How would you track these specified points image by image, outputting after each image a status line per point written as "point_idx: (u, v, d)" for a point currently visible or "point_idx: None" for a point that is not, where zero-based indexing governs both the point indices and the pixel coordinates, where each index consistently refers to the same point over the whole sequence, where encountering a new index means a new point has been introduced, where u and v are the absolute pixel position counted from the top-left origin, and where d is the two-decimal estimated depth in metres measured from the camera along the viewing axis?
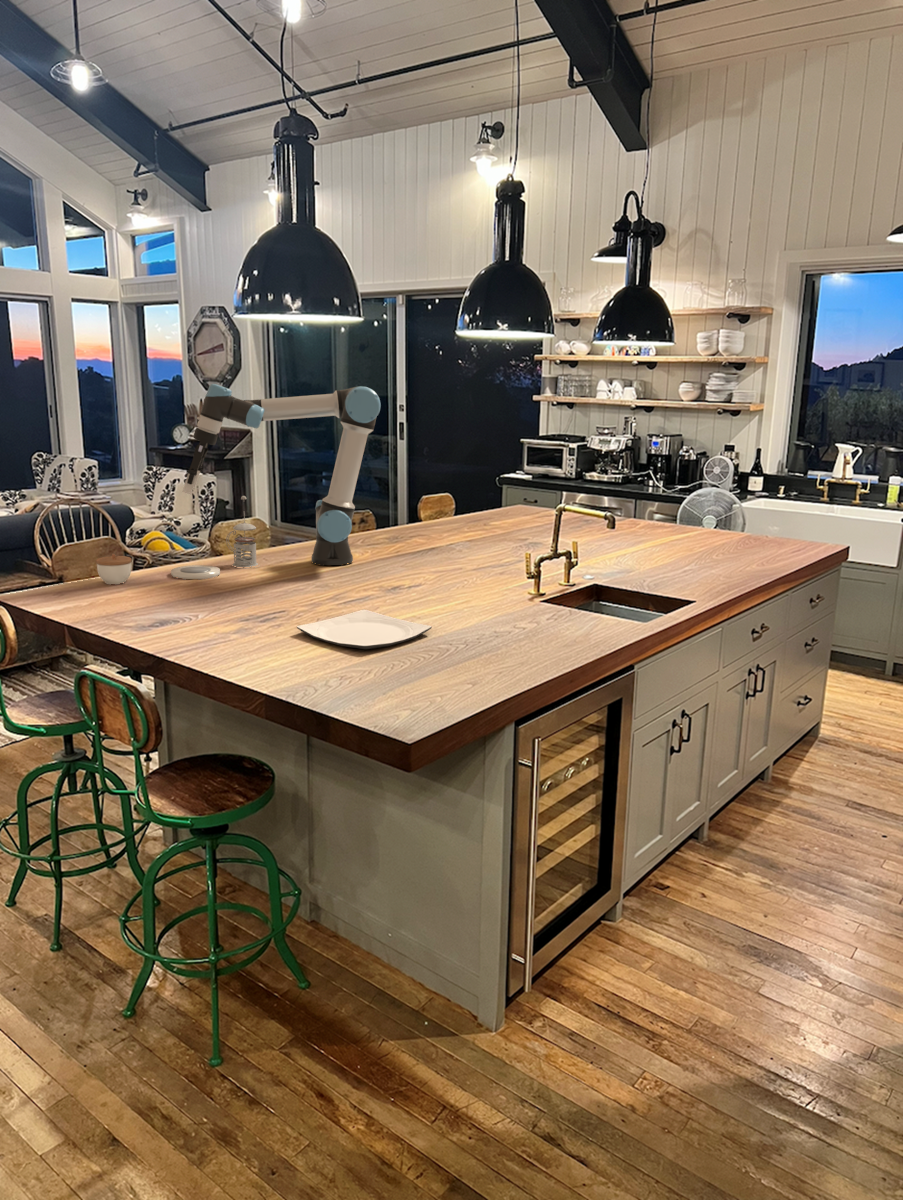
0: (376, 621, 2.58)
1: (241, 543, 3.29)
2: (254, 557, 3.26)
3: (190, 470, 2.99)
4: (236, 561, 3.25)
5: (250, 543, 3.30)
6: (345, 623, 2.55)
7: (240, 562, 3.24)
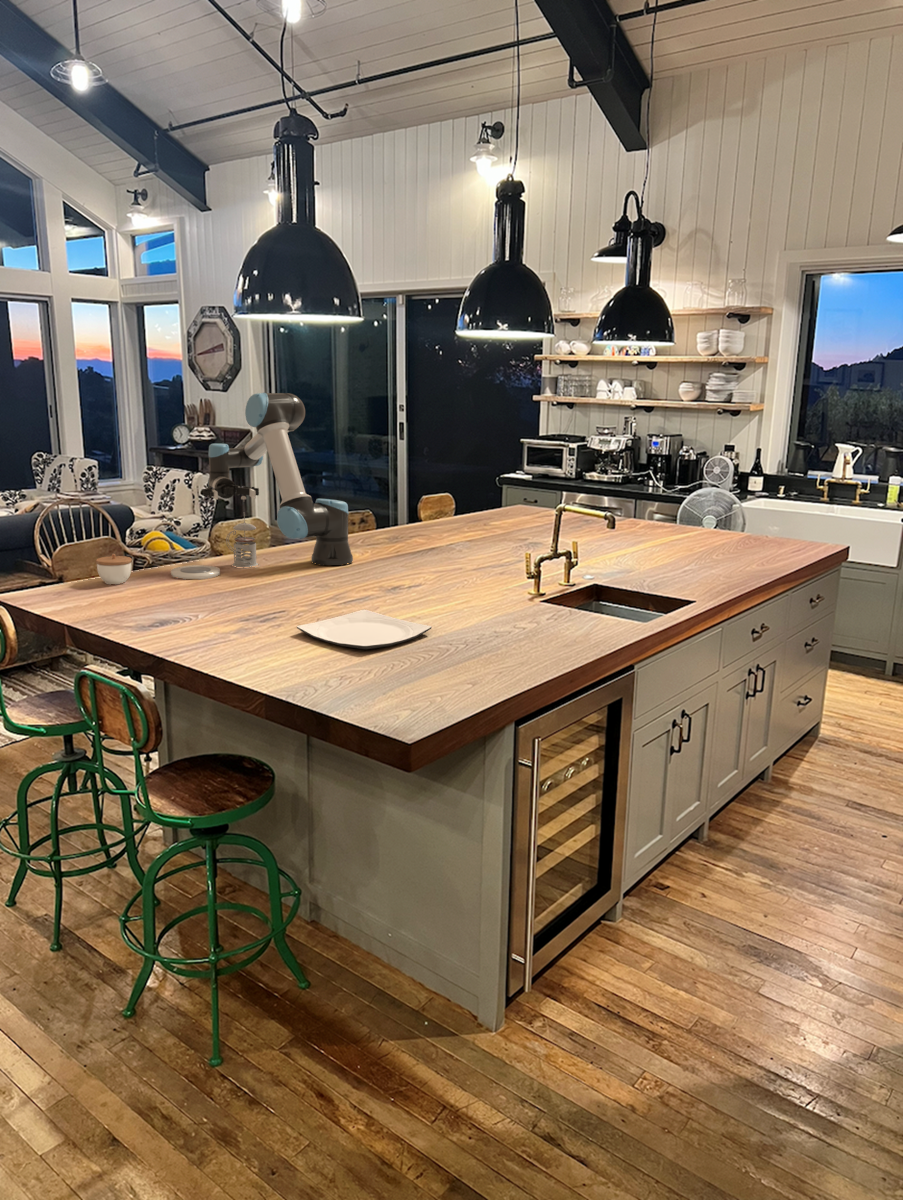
0: (376, 621, 2.58)
1: (241, 543, 3.29)
2: (254, 557, 3.26)
3: (203, 494, 3.34)
4: (236, 561, 3.25)
5: (250, 543, 3.30)
6: (345, 623, 2.55)
7: (240, 562, 3.24)
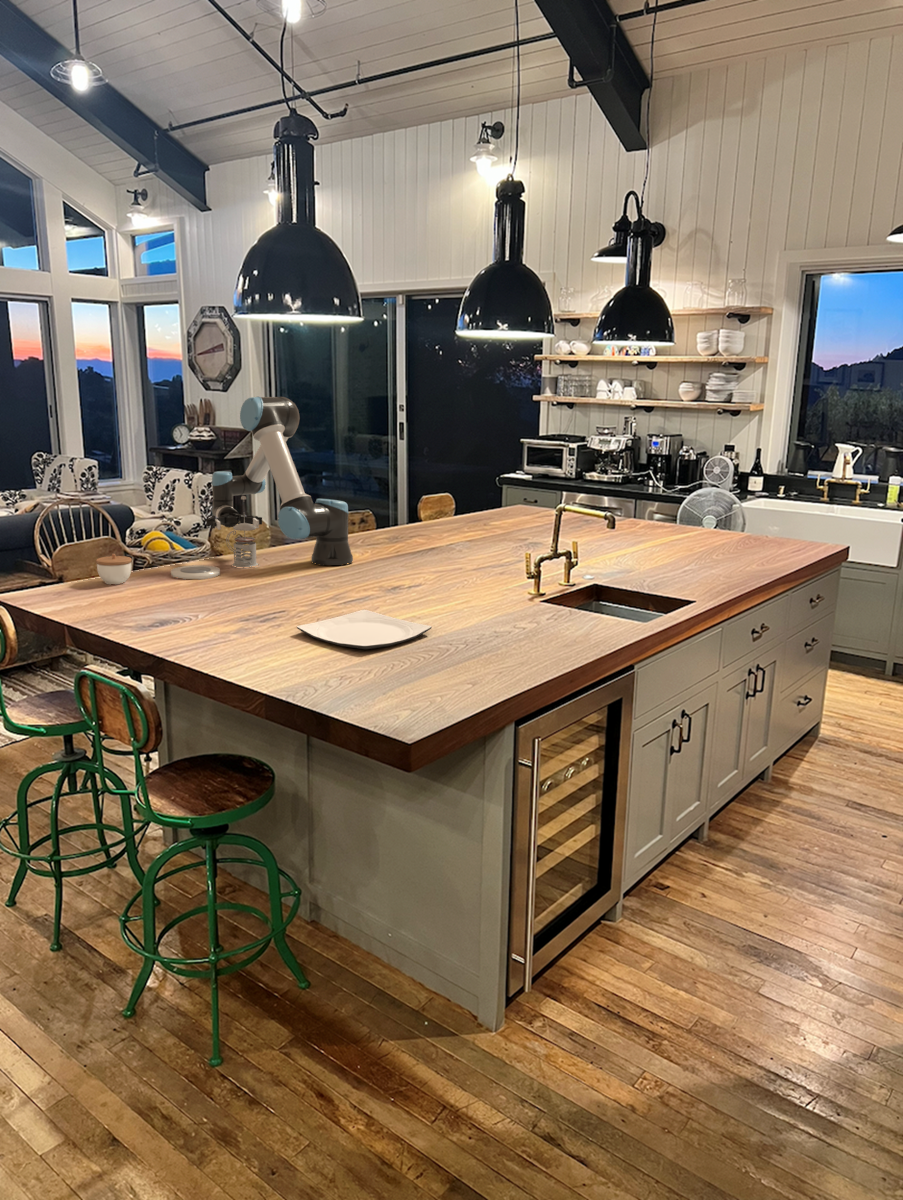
0: (376, 621, 2.58)
1: (241, 543, 3.29)
2: (254, 557, 3.26)
3: (206, 524, 3.31)
4: (236, 561, 3.25)
5: (250, 543, 3.30)
6: (345, 623, 2.55)
7: (240, 562, 3.24)
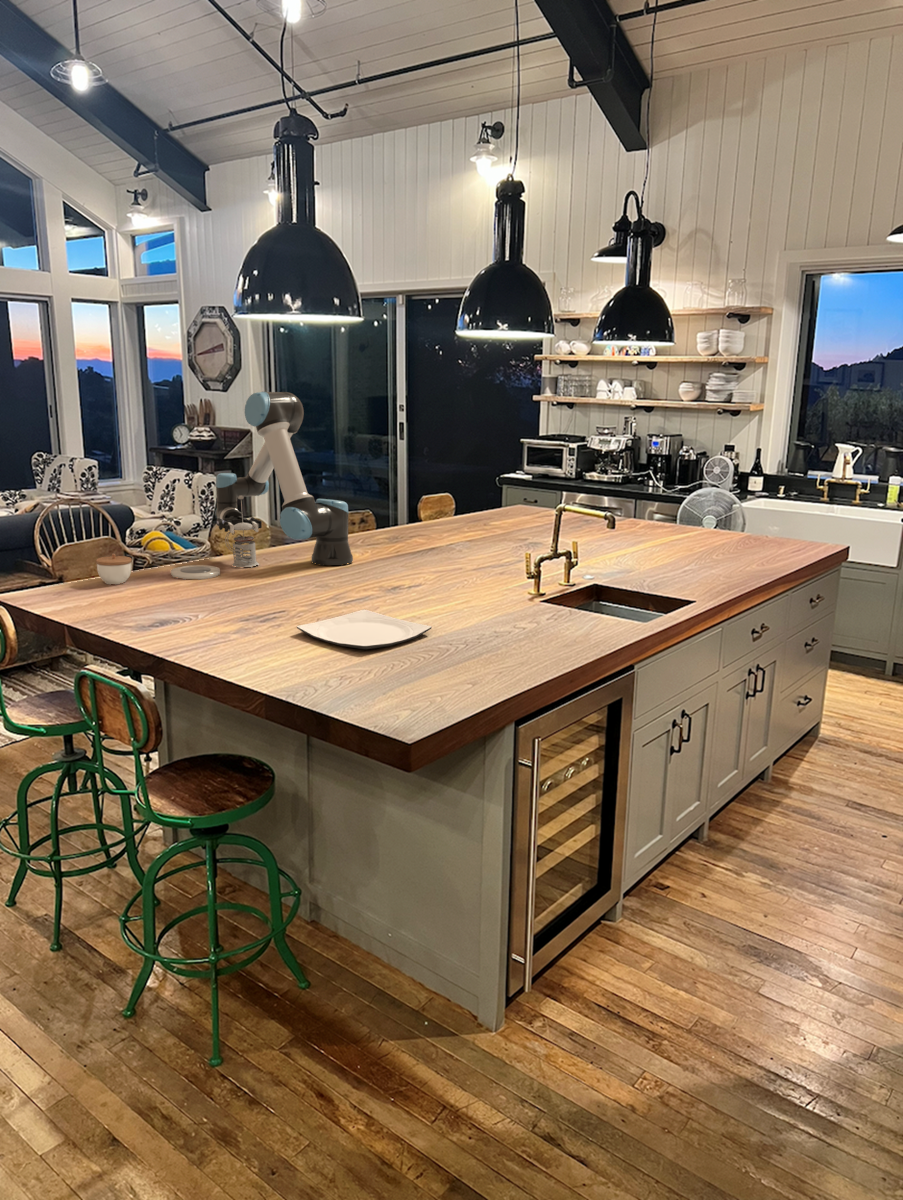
0: (376, 621, 2.58)
1: (240, 542, 3.29)
2: (254, 556, 3.26)
3: (219, 527, 3.25)
4: (236, 561, 3.25)
5: (249, 542, 3.30)
6: (345, 623, 2.55)
7: (240, 562, 3.24)
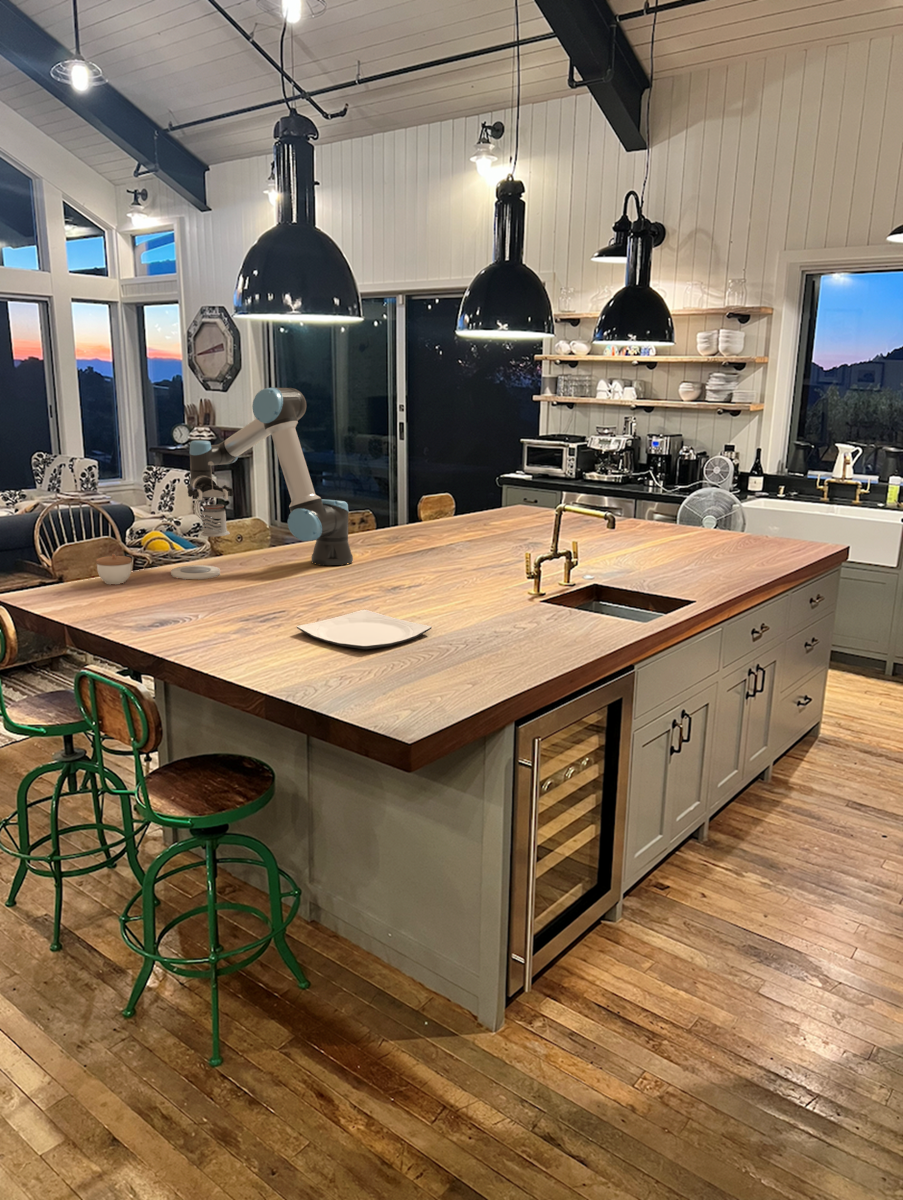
0: (376, 621, 2.58)
1: (211, 511, 3.19)
2: (224, 525, 3.15)
3: (188, 495, 3.14)
4: (205, 529, 3.14)
5: (220, 510, 3.19)
6: (345, 623, 2.55)
7: (209, 530, 3.13)
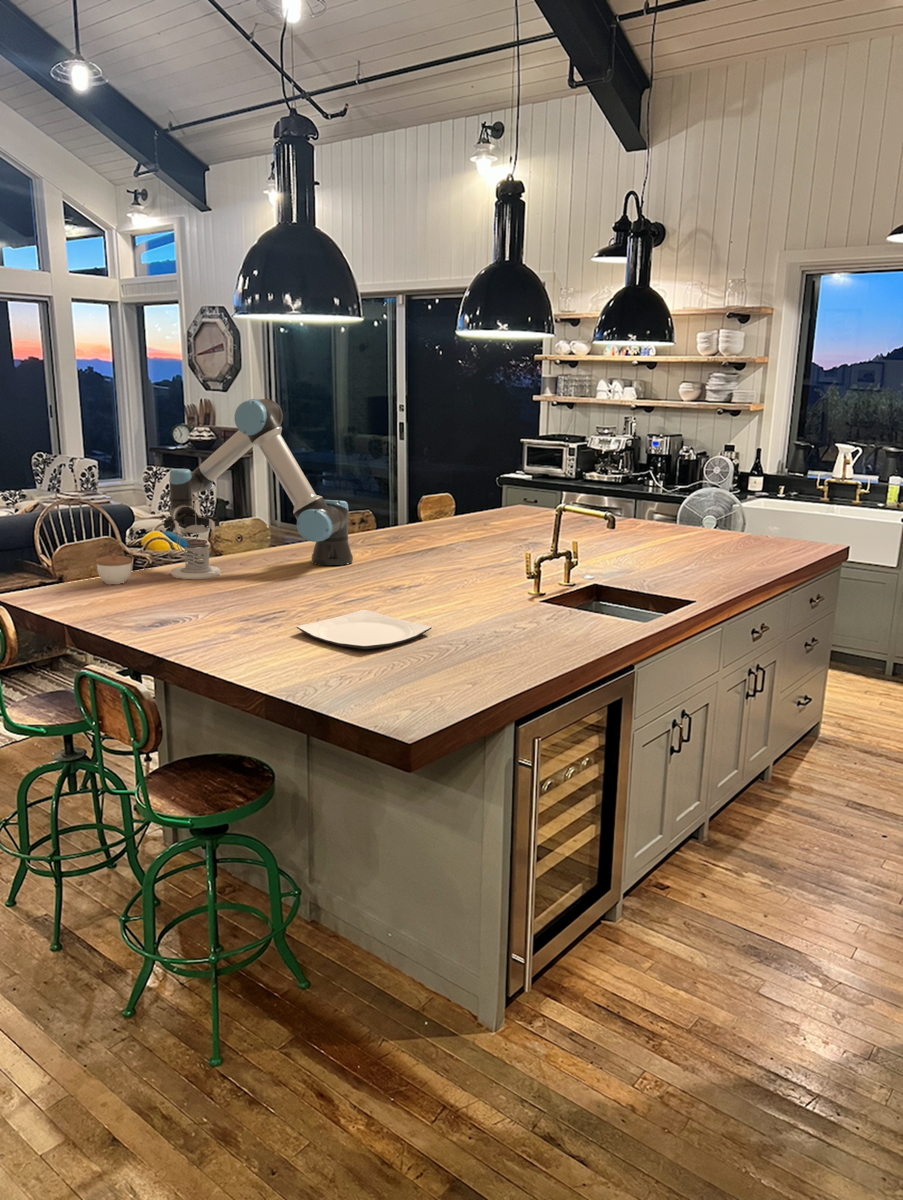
0: (376, 621, 2.58)
1: (193, 546, 3.13)
2: (206, 561, 3.09)
3: (164, 526, 3.08)
4: (187, 565, 3.08)
5: (203, 546, 3.13)
6: (345, 623, 2.55)
7: (191, 566, 3.07)
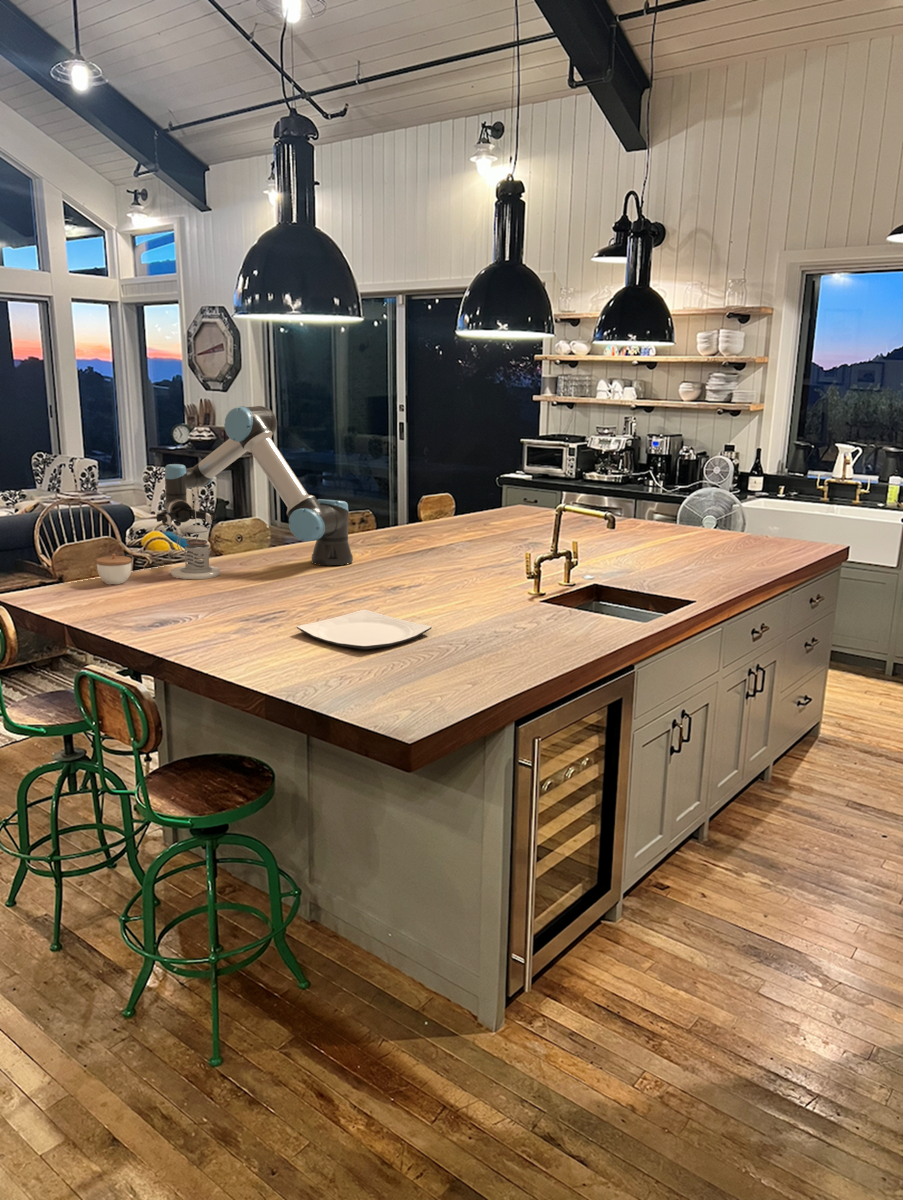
0: (376, 621, 2.58)
1: (193, 546, 3.13)
2: (206, 561, 3.09)
3: None
4: (187, 565, 3.08)
5: (203, 546, 3.13)
6: (345, 623, 2.55)
7: (191, 566, 3.07)
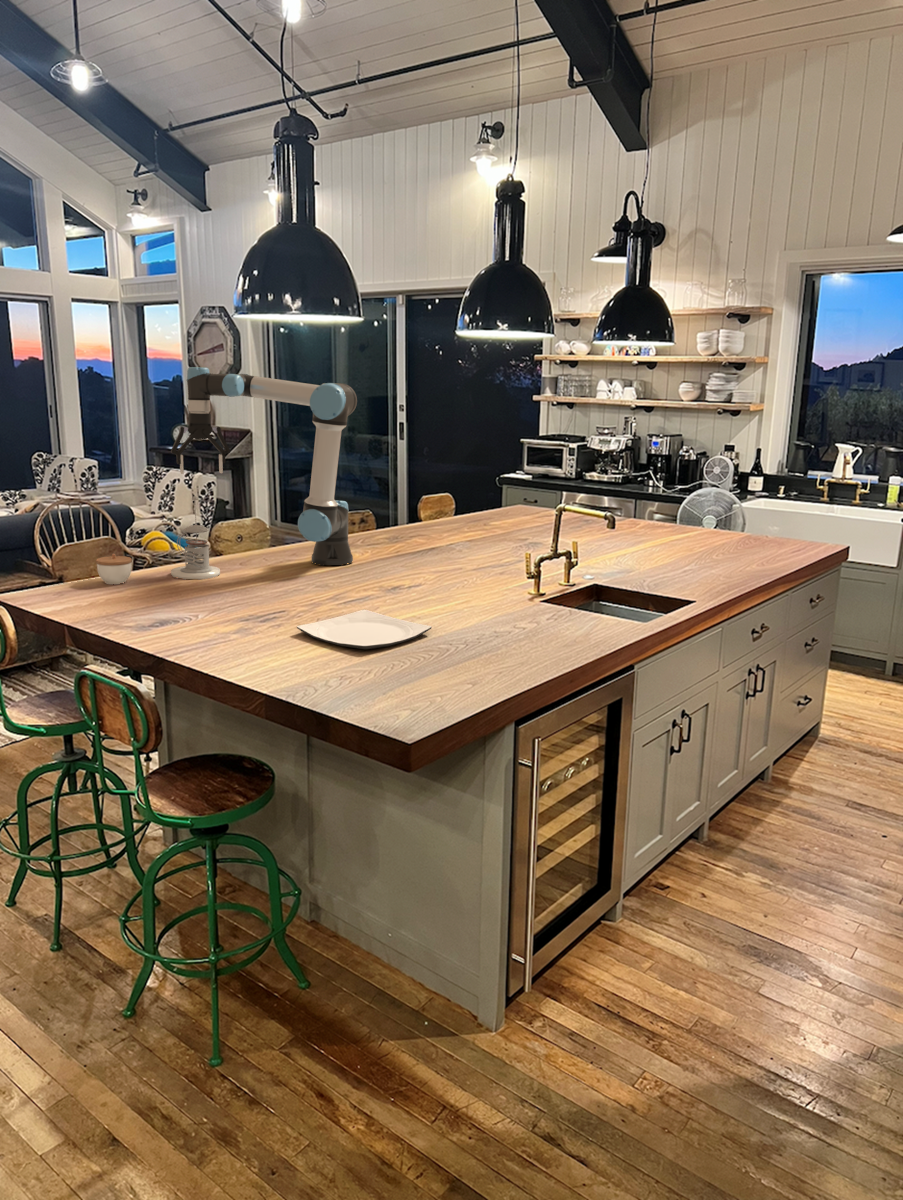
0: (376, 621, 2.58)
1: (193, 546, 3.13)
2: (206, 561, 3.09)
3: (171, 450, 3.21)
4: (187, 565, 3.08)
5: (203, 546, 3.13)
6: (345, 623, 2.55)
7: (191, 566, 3.07)
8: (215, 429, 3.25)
